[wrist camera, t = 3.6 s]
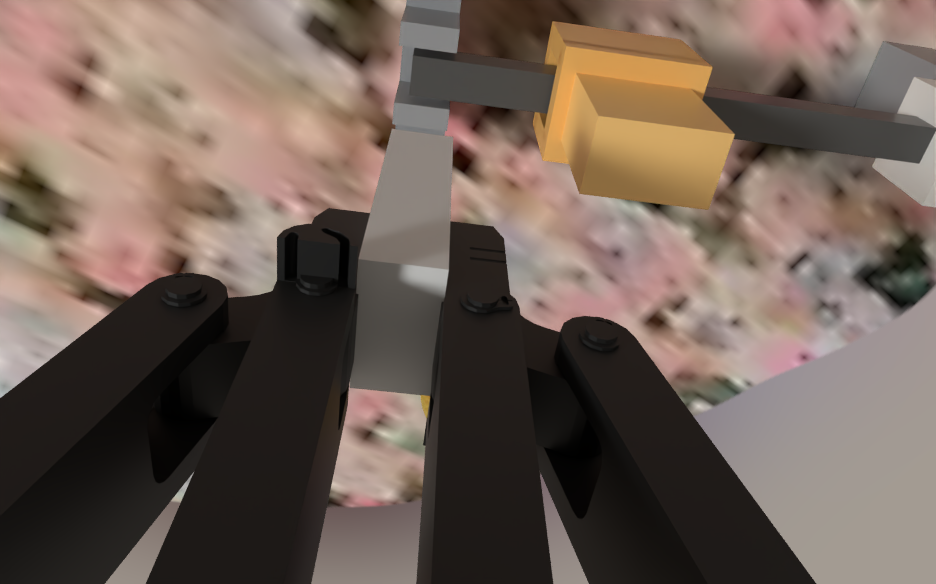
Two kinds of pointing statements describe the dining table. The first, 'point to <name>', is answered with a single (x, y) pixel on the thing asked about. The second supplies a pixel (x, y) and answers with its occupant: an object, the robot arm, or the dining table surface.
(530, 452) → the robot arm
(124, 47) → the dining table surface
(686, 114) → the orange rod clamp
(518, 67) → the rod fixture
